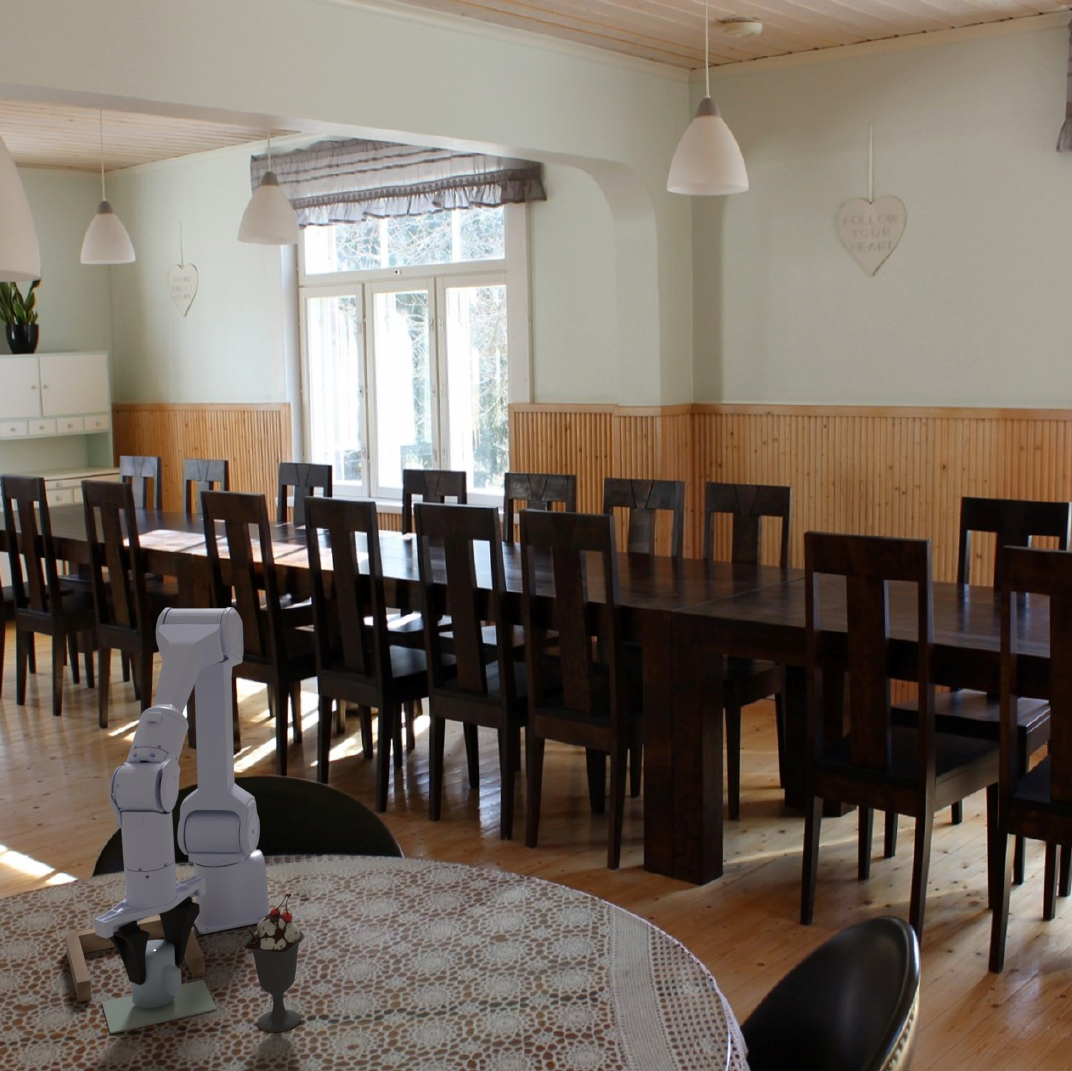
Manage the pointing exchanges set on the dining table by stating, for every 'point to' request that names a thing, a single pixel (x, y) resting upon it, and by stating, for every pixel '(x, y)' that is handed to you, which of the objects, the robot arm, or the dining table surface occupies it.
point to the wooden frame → (92, 942)
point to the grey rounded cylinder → (158, 976)
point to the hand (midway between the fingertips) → (156, 972)
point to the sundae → (276, 964)
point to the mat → (158, 1008)
